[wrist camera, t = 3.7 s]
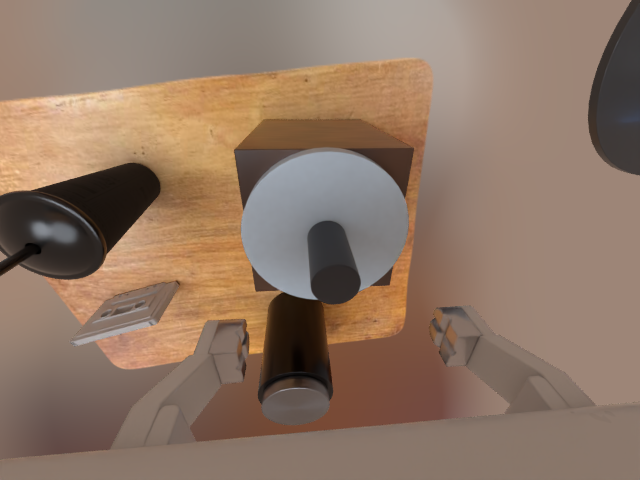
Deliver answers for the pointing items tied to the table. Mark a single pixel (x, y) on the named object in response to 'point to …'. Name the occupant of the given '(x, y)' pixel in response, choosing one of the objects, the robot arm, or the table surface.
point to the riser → (299, 135)
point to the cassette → (127, 313)
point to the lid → (324, 224)
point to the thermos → (295, 362)
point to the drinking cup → (73, 220)
